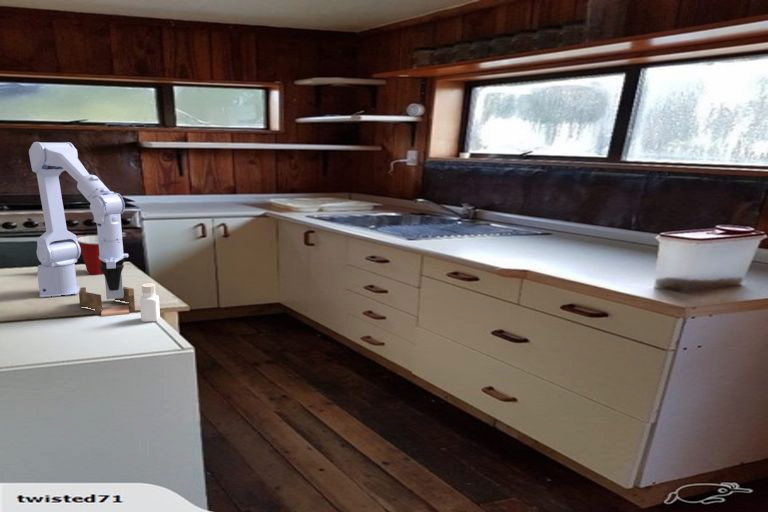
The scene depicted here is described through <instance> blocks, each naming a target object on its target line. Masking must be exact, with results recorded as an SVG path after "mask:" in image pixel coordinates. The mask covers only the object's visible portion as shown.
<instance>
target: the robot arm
mask: <svg viewBox="0 0 768 512" xmlns="http://www.w3.org/2000/svg"><path fill="white" fill-rule="evenodd" d="M78 154H79V153H78V149H77V148H76V147H75V146H74V144H73V143H72V142H69V141H67V142H66V141H65V142H40V141H34V142H33V143H32V144H31V146H30V148H29V150H28V155H29V161H30V166H31V170H32V172H33V173H35V174H36V178H37V183H38V190H39V196H40V202H41V206H42V207H41V208H42V213H43V215H42V216H43V221H44V226H45V232H44V233H42V235H40V236H39V237H38V238H37V239H36V244H37V245H36V246H37V247H36V257H37V259H38V261H39V262H40V263H41V264H43V265H41V264H39V265H38V266H37V269H36V271H37V282H38V292H39V298H49V297H51V296H52V297H62V296H61V295H65V296H72V295H71V294H77V295H79V291H80V288H81V286H80V285H78V283H77V274H76V273H77V272H76V271H77V270H76V264H75V263H78V259H79V258H80V256H81V254H82V252H81V248H80V245H79V243H78V241H77V239H78V238H77V235H76V234H74V233H73V232H71V231H69V230H68V229H67V223H66V222H67V221H66V215H65V209H64V204H63V199H62V198H63V197H62V189H61V184H60V179H59V176H60V175H61V174H62V173H63V172H65V171H66V172H67V173H68V174H69V176H71V177H72V178H73V179H74V180H75V181H76V182H77V185H76V188H77V190H78V191H79V192H80V194H82V196H84V198H85V199H86V200H87V201H88V202H89V203H90V205H89V209H90V211H91V214H92V216H93V221H94V223H96V228H97V236H98V243H99V254H100V255H99V259H100V260H102V261H101V263H102V265H100V269H101V271H102V272H103V274H102V275H103V276H104V279H105V278H106V281H107V284H108V287H109V290H110V291H114V290H118V289H119V283H120V275H121V272H122V273H123V269H124V268H125V267H124V262H125V258H126V259H127V258H129V253H124V245H123V233H122V232H123V231H122V219H121V218H122V217H121V215H123V213H124V212H125V208H126V205H125V201H124V198H123V196H122V195H121V194H120V193H117V192H115V191H111V190H110V189H109V188H108V187H107V186H106V185H105V184H104V182H103V181H102V180H100V178H99V177H98V176H97V175H94V174H90V173H89V172H88V170H87V169H86V168H85V166H84V165H83V164H82V162H81V161H80V159H79V157H78V156H79V155H78Z"/></svg>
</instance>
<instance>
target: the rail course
mask: <svg viewBox="0 0 768 512" xmlns="http://www.w3.org/2000/svg"><path fill="white" fill-rule="evenodd" d="M123 293H124V295H123V298H116V299H115V300H120V301H125V302H129V304H128V305H129V312H135V311H136V309H135V308H136V303H135V302H136V301H135V289H134V288H133V287H128V286H123ZM78 297H79V307H88V308H91V309H95V311H94V313H95V315H101V312H102V311H101V309H102V307H103V303H102V295H101V294H98V293H93V292H88V291H87V289H86V287H85V286H84V287H83V286H82V287H80V289H79V292H78Z"/></svg>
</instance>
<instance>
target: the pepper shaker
mask: <svg viewBox="0 0 768 512" xmlns="http://www.w3.org/2000/svg"><path fill="white" fill-rule="evenodd" d="M141 291H142V292H141V294H142V296H141V297H140V299H139V305H140V320H141V322H147V323H149V322H151V323H152V322H157V321H158V320H159V318H160V316H161V312H160V311H161V310H160V297H159V295H157V294H156V292H157V291H156V284H155V283H152V282H151V283H149V282H148V283H143V284H142V285H141Z"/></svg>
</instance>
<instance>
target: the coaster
mask: <svg viewBox="0 0 768 512" xmlns="http://www.w3.org/2000/svg"><path fill="white" fill-rule="evenodd" d="M128 314H130V305H129V304H123V305H109V306H102V311H101V314H100V316H101V317H108V316H109V317H110V316H119V315H128Z"/></svg>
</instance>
